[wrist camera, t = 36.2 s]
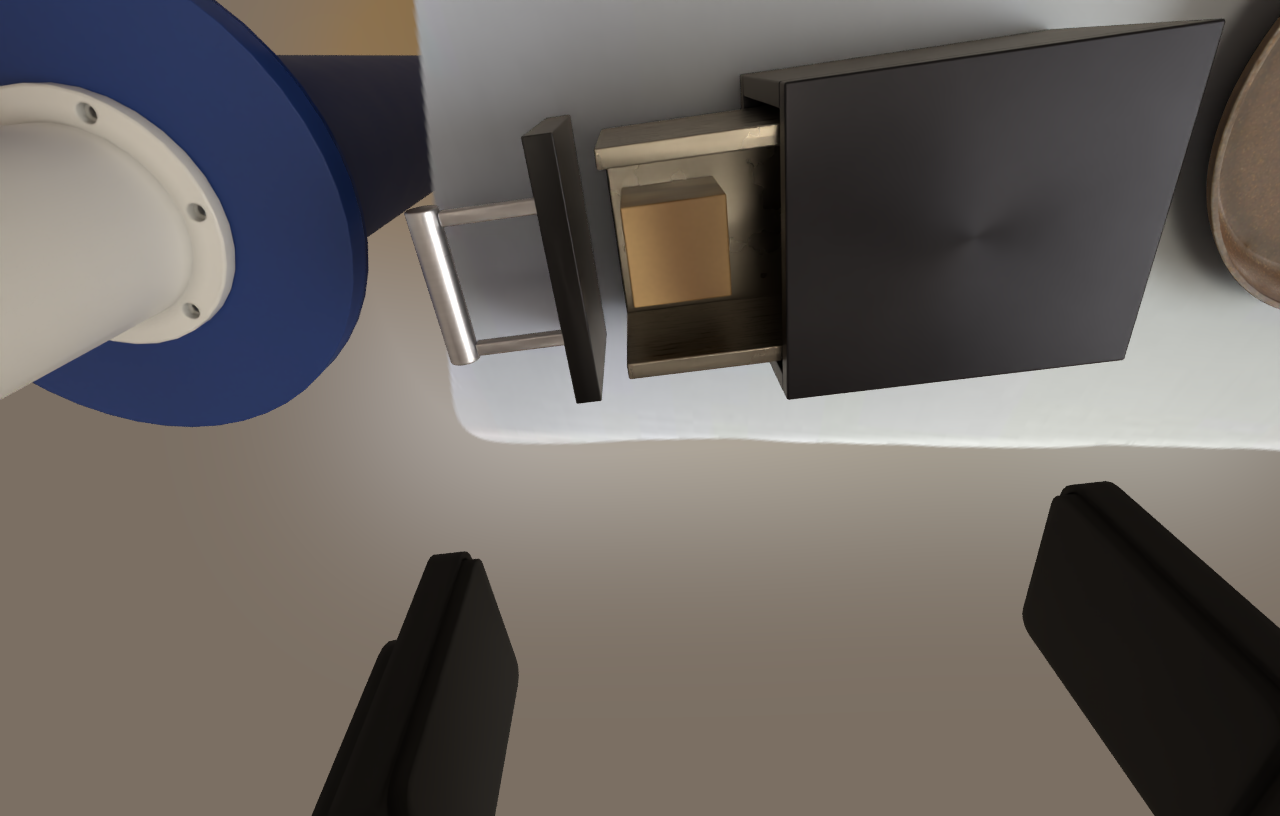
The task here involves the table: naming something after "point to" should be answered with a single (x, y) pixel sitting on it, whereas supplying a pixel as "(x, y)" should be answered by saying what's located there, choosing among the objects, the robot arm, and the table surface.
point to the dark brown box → (977, 200)
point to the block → (676, 241)
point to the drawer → (657, 334)
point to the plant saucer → (1250, 175)
